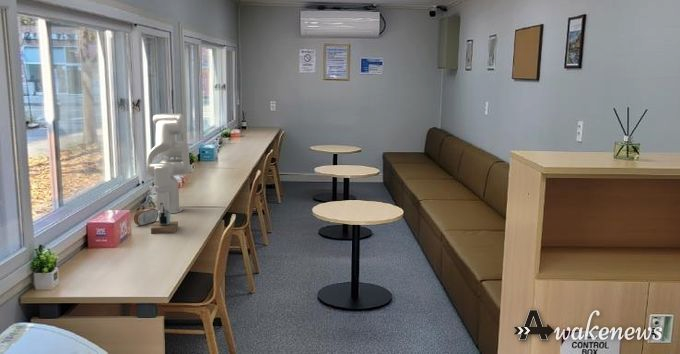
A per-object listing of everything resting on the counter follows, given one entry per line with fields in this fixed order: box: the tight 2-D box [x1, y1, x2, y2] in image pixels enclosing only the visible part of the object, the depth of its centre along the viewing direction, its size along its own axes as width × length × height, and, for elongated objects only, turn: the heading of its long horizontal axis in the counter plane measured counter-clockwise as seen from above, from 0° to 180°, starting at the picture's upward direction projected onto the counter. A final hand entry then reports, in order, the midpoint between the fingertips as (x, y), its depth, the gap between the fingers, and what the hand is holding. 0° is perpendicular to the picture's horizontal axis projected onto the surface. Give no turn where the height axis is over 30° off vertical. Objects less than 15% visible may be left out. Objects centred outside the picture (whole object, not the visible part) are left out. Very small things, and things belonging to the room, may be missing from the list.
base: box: [150, 220, 179, 235], centre depth 304 cm, size 12×12×3 cm
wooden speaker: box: [133, 207, 159, 227], centre depth 316 cm, size 15×3×8 cm, turn 149°
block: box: [158, 211, 171, 225], centre depth 303 cm, size 5×5×6 cm
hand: (164, 221), depth 303 cm, fingers closed on block, 4 cm apart
